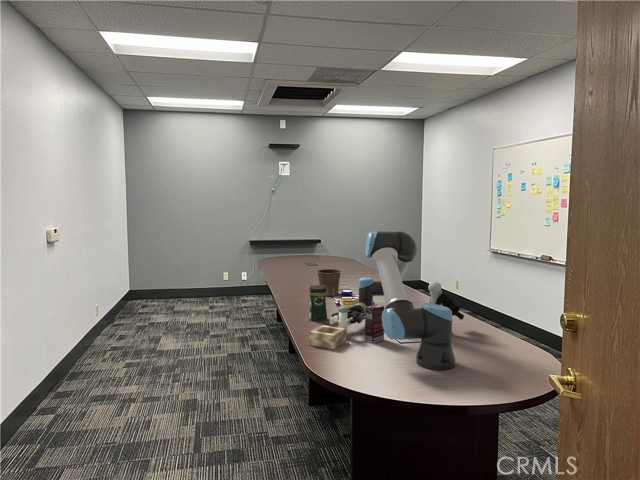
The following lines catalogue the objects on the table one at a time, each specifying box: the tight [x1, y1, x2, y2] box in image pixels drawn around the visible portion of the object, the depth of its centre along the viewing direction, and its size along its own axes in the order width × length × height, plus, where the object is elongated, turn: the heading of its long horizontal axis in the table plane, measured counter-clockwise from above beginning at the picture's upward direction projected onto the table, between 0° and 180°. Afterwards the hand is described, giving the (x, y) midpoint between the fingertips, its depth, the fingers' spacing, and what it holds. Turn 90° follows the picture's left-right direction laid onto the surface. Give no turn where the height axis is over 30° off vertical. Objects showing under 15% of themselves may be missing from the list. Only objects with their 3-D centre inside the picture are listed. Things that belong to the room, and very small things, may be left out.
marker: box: [338, 306, 348, 339], centre depth 218 cm, size 4×4×14 cm
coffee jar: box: [308, 284, 328, 322], centre depth 249 cm, size 10×8×19 cm
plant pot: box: [316, 268, 342, 297], centre depth 311 cm, size 16×16×16 cm
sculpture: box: [428, 281, 465, 321], centre depth 228 cm, size 15×24×25 cm, turn 110°
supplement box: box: [364, 304, 385, 344], centre depth 213 cm, size 9×5×16 cm, turn 134°
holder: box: [308, 324, 346, 350], centre depth 209 cm, size 12×12×6 cm
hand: (338, 322), depth 214 cm, fingers open, 7 cm apart
